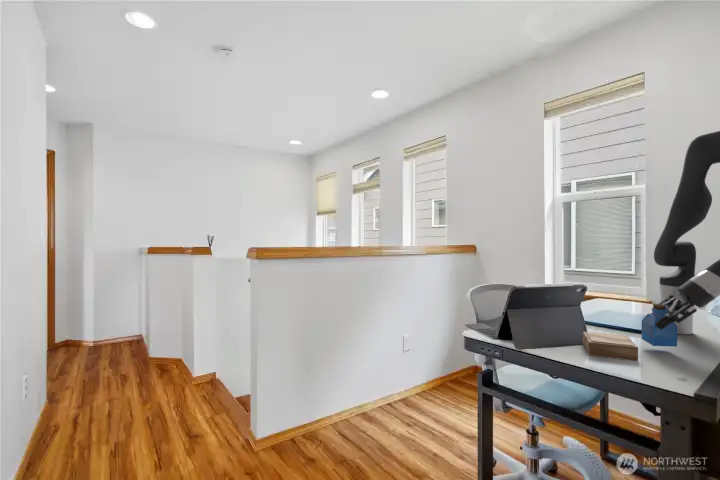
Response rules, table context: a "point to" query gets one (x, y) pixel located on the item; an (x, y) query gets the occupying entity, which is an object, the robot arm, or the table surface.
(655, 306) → the perfume bottle
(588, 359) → the table surface
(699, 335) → the table surface
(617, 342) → the block
